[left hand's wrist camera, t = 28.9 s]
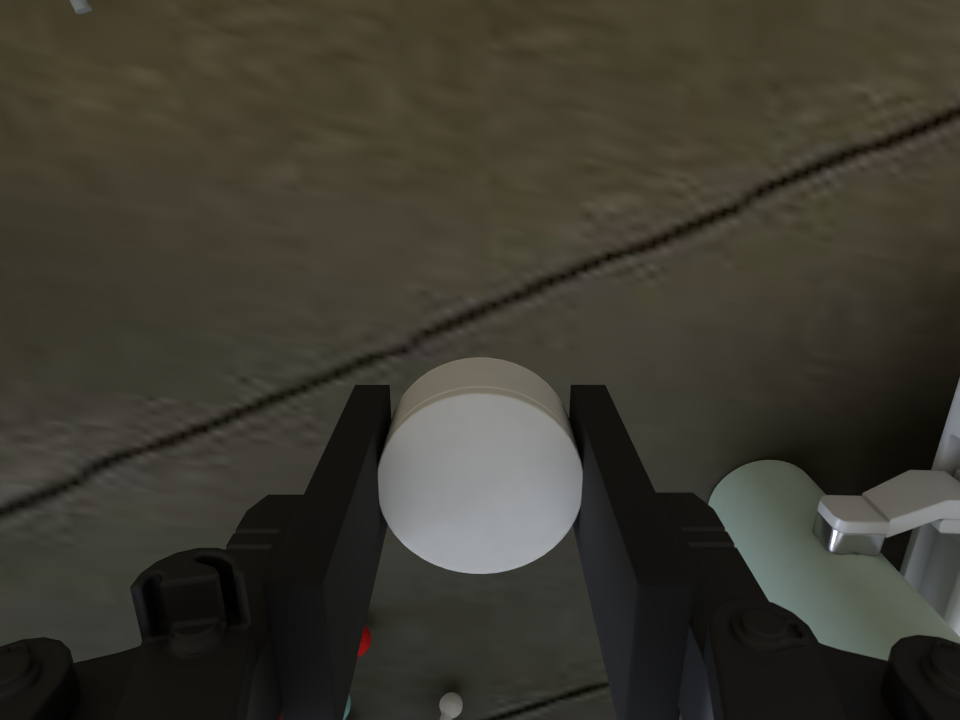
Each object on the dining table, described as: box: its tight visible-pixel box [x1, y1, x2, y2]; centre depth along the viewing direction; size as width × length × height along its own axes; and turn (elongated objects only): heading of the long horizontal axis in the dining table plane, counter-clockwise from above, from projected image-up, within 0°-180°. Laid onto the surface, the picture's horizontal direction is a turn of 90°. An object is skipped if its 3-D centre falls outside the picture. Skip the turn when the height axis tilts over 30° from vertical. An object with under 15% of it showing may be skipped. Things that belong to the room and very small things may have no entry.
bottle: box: [708, 460, 960, 661], centre depth 22 cm, size 5×5×19 cm
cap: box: [378, 357, 583, 574], centre depth 14 cm, size 4×4×2 cm
